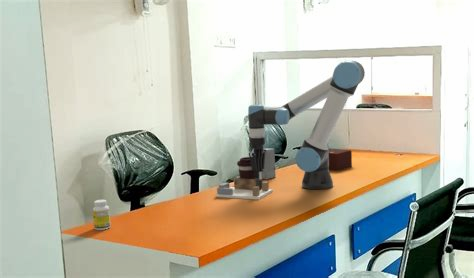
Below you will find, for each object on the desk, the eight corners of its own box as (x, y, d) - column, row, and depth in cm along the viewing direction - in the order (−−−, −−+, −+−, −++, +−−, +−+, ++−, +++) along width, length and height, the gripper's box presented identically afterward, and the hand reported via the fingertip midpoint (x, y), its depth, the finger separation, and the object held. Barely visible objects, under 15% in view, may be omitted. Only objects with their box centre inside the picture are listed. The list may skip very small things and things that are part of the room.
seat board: (272, 191, 266) (272, 181, 266) (259, 199, 252) (258, 188, 252) (231, 189, 276) (230, 179, 275) (216, 196, 262) (215, 185, 261)
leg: (234, 188, 271) (233, 178, 271) (237, 187, 274) (236, 177, 273) (259, 190, 265) (259, 179, 265) (262, 188, 268) (261, 178, 267)
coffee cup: (256, 190, 271) (254, 160, 269) (236, 190, 274) (234, 160, 271) (260, 185, 281) (258, 156, 278) (241, 185, 283) (239, 156, 281)
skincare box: (265, 179, 295) (264, 150, 293) (256, 178, 301) (255, 149, 299) (276, 177, 301) (275, 148, 299) (267, 175, 306) (266, 147, 304)
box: (353, 166, 322) (353, 149, 320) (337, 171, 310) (336, 153, 309) (323, 163, 336) (323, 147, 335) (307, 167, 325) (306, 151, 323)
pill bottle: (95, 226, 221) (93, 199, 219) (111, 225, 221) (109, 198, 220) (93, 231, 214) (90, 203, 213) (109, 230, 215) (107, 202, 214)
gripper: (257, 134, 275) (258, 181, 278) (243, 138, 264) (245, 187, 267) (270, 135, 271) (272, 182, 274) (256, 138, 260) (258, 188, 263)
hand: (258, 184), depth 271 cm, fingers closed
